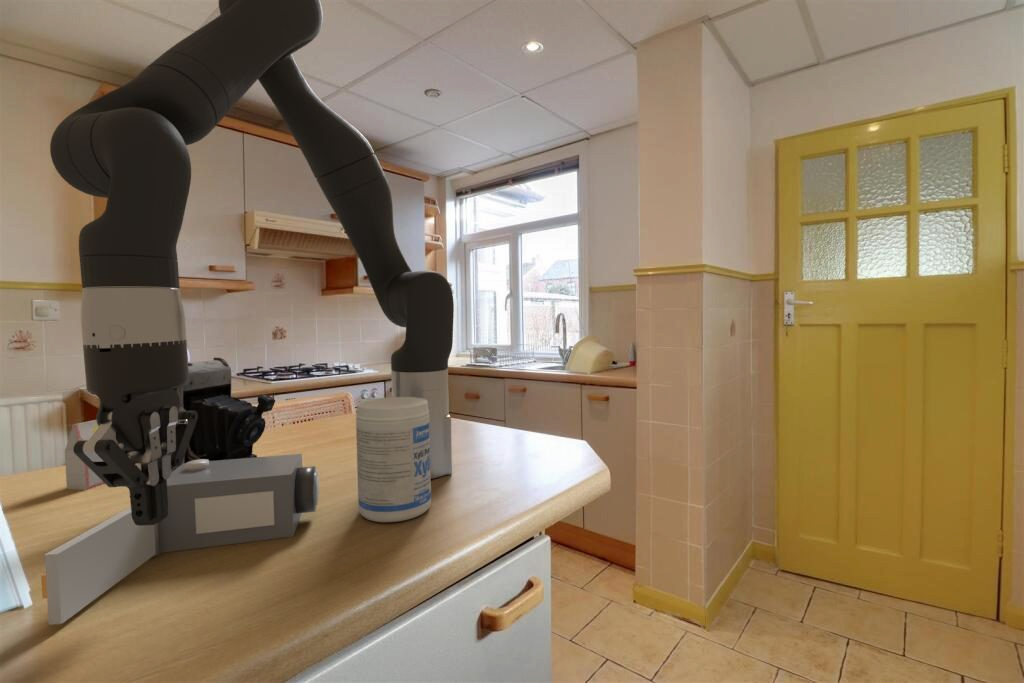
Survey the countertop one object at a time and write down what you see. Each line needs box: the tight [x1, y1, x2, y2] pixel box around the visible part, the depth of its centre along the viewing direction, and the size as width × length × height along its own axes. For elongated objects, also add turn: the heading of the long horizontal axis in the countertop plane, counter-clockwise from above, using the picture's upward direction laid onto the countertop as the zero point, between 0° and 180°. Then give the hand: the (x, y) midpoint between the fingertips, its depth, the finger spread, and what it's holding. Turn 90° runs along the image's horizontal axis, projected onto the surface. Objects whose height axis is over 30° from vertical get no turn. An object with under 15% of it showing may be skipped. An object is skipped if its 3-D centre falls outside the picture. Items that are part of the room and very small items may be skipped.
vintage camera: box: [171, 357, 276, 473], centre depth 73 cm, size 10×16×20 cm, turn 78°
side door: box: [40, 506, 161, 625], centre depth 47 cm, size 13×2×6 cm, turn 4°
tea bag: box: [64, 419, 106, 491], centre depth 77 cm, size 4×7×10 cm, turn 169°
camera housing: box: [158, 453, 320, 554], centre depth 60 cm, size 16×9×8 cm, turn 106°
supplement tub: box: [355, 396, 432, 523], centre depth 65 cm, size 10×10×15 cm
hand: (151, 521), depth 46 cm, fingers closed
